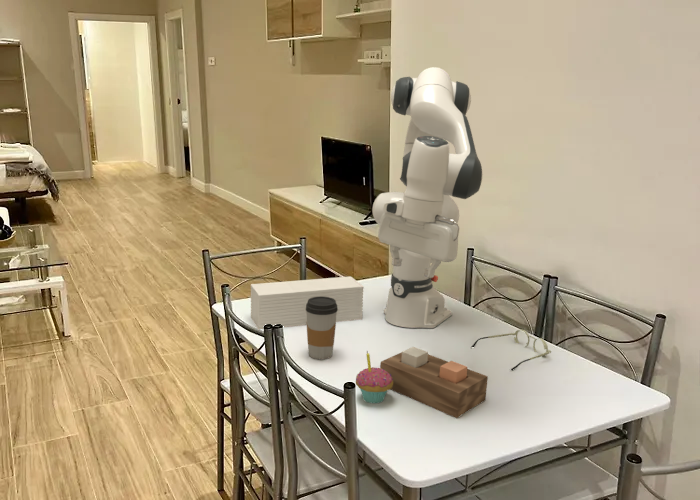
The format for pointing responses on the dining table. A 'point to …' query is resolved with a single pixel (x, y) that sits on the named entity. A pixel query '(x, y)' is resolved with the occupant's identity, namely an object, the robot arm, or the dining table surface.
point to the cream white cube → (414, 357)
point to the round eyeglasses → (518, 342)
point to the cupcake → (374, 383)
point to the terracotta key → (453, 372)
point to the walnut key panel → (436, 385)
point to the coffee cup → (321, 326)
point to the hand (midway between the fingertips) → (412, 271)
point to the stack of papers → (304, 300)
